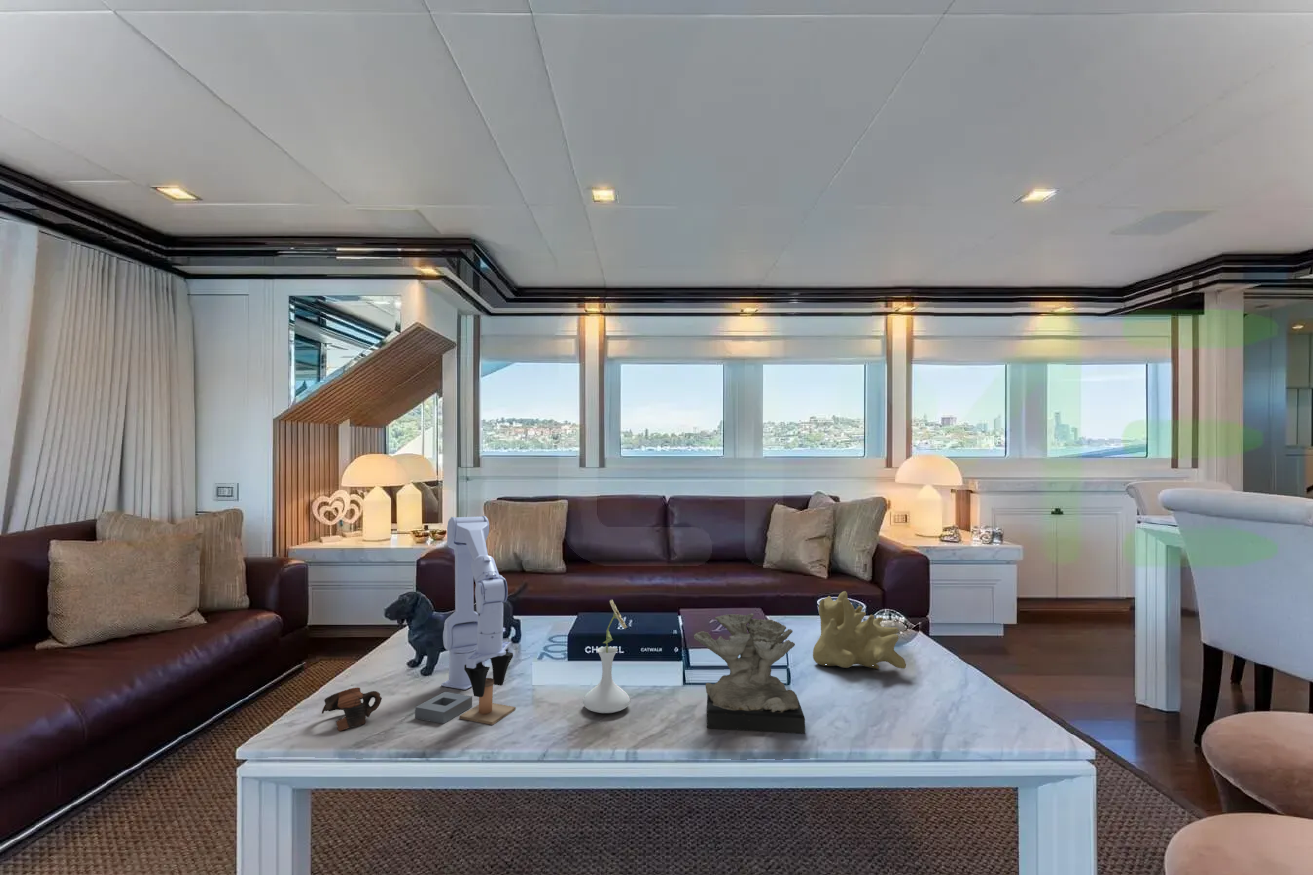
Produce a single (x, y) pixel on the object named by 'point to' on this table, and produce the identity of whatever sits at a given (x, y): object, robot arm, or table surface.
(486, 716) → the coaster
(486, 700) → the plug
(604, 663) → the flower in vase
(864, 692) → the table surface
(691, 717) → the table surface
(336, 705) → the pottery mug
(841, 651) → the decorative coral
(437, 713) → the socket
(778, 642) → the coral
